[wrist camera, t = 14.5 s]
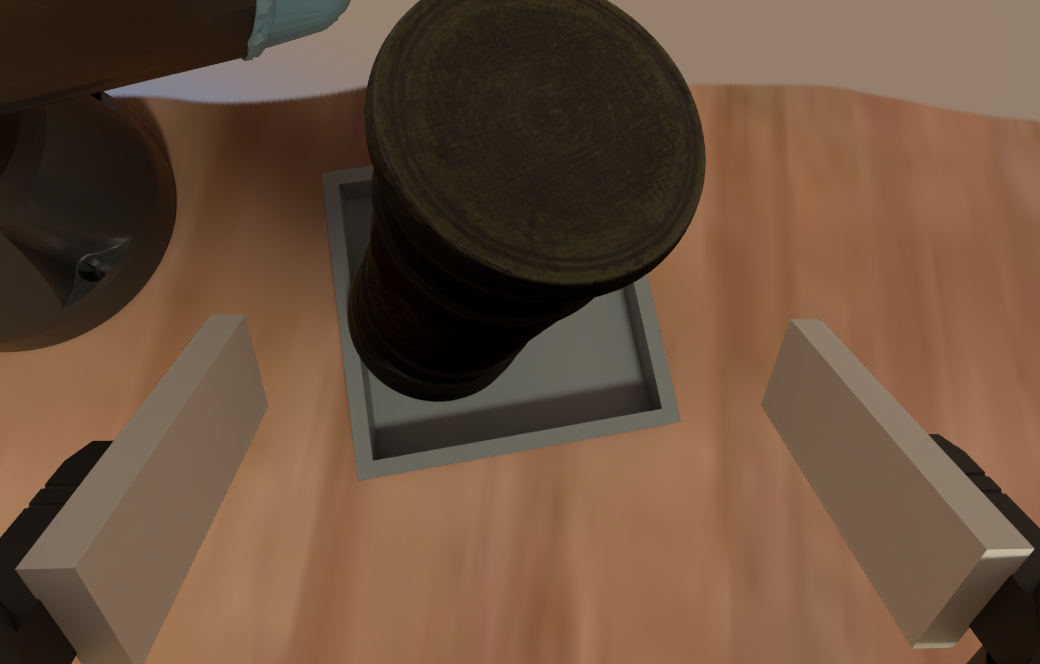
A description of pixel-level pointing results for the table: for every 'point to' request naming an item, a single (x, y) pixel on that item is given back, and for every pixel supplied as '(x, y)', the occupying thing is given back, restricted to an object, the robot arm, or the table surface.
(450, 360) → the container
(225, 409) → the robot arm
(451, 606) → the table surface
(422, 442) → the tray
